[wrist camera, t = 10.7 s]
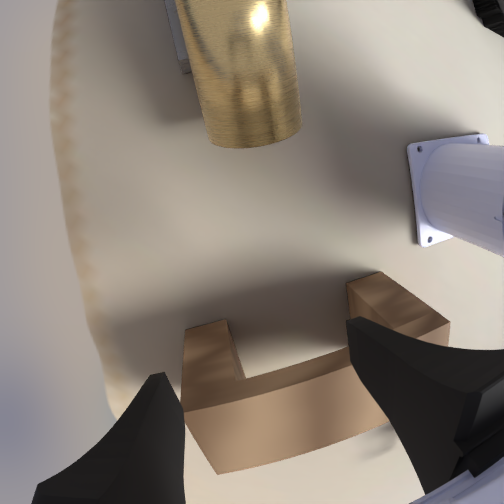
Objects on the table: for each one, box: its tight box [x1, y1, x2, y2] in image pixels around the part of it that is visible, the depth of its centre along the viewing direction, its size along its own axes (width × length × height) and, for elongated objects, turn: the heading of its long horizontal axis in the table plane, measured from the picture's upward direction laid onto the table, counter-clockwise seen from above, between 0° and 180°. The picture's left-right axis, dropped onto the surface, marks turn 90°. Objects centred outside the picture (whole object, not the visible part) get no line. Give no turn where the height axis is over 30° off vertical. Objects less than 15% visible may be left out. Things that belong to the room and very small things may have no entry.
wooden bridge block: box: [180, 272, 450, 475], centre depth 20 cm, size 15×6×8 cm, turn 104°
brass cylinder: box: [175, 0, 302, 148], centre depth 12 cm, size 5×12×5 cm, turn 14°
